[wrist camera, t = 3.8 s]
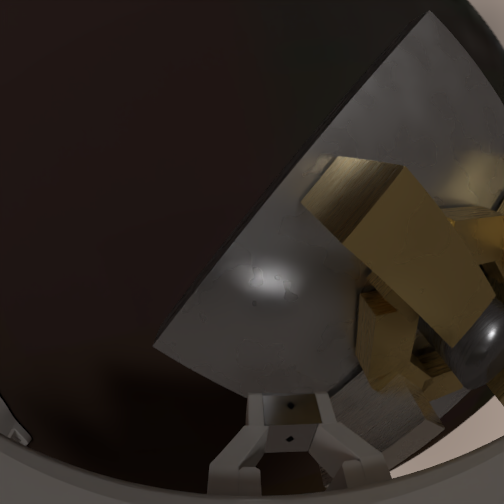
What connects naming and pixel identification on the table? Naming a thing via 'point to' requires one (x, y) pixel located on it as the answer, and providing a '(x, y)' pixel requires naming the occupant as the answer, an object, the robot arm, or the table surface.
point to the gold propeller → (406, 295)
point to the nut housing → (331, 249)
